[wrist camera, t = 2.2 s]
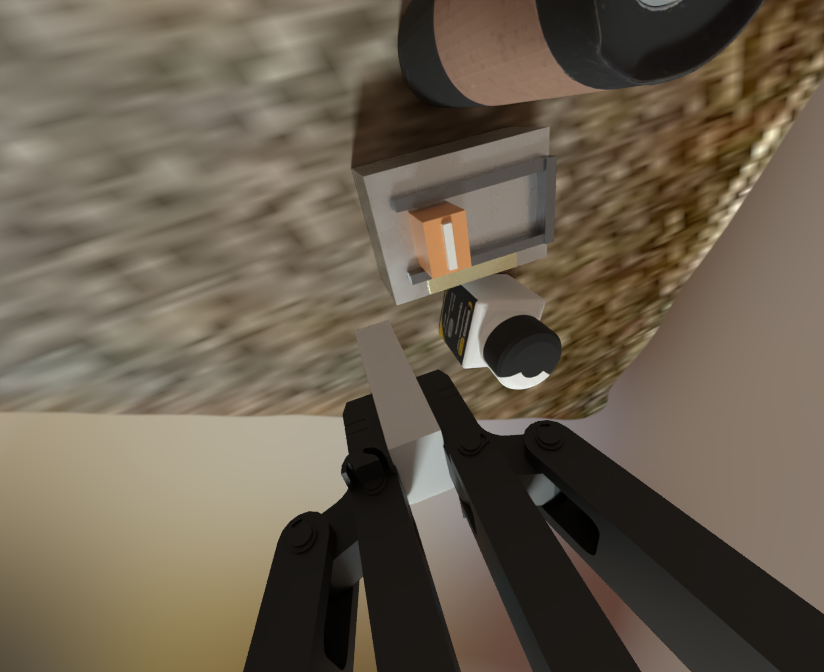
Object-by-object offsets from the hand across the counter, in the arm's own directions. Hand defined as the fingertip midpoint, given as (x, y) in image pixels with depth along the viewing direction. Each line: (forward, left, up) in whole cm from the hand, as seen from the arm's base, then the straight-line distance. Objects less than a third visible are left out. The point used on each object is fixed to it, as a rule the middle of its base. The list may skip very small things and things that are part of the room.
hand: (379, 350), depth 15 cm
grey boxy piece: (0, +10, -18) cm, 21 cm away
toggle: (0, +7, -12) cm, 14 cm away
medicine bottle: (+11, +12, -19) cm, 25 cm away
